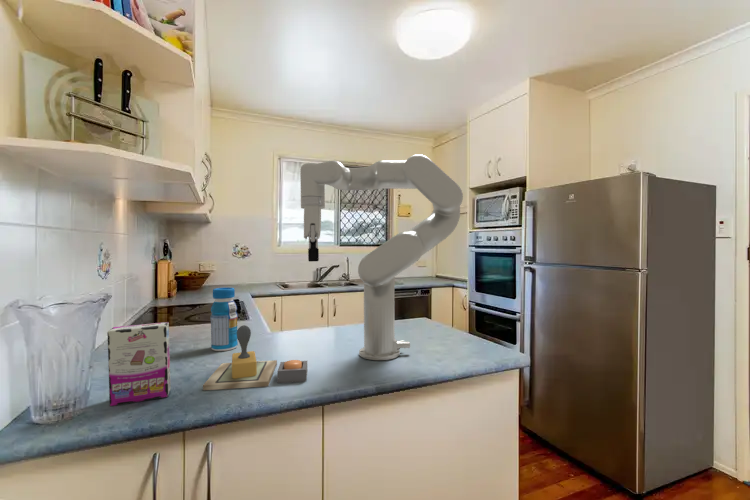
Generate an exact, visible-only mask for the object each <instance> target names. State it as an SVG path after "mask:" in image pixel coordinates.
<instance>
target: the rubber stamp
mask: <svg viewBox="0 0 750 500" xmlns="http://www.w3.org/2000/svg"><path fill="white" fill-rule="evenodd" d="M251 334H252V331H251V328H250V327H249V326H247V325H245V324H244V325H240V326H239V327H237V341H238V344H239V346H240V348H241V349H240V350H241V351H240V352H234V353H232V356H231V363H232V378H233V379H235V378H242V377H250V376H256V374H257V362H256V361H257V359H256V358H257V357H256V352H255V351H254V350H251V351H247V349H248V345H249V342H250V338H251Z"/></svg>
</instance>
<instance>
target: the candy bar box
mask: <svg viewBox="0 0 750 500" xmlns="http://www.w3.org/2000/svg"><path fill="white" fill-rule="evenodd" d="M169 324H170V323H169V321H167V322H155V323H154V322H153V323H146V324H133V325H132V324H131V325H122V326H121V325H120V326H113V327H112V328H110V329H109V330H108V331H107V332H106V333H107V354H108V356H107V357H108V358H107V361H108V362H107V363H108V366H107V367H108V389H109V390H108V391H109V395H108V396H109V397H108V398H109V402H108V403H109V406H110V407H114V406H121V405H127V404H133V403H140V402H145V401H152V400H157V399H164V398H168V397H169V394H170V392H171V389H172V388H171V387H172V384H171V383H172V382H171V381H172V380H171V357H170V355H171V354H170V325H169Z"/></svg>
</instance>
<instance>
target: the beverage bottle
mask: <svg viewBox="0 0 750 500" xmlns="http://www.w3.org/2000/svg"><path fill="white" fill-rule="evenodd" d="M235 291H236V290H235V288H234V287H217V288H213V290H212V300H214V302H213V303H212V305H211V307H210V313H211V315H210V318H209V319H210V334H211V335H210V337H211V338H210V339H211V343H210V346H211V350H212V351H216V352H225V351H231V350H234V349H236V348H238V346H239V345H238V344H239V341H238V339H237V330H238V315H239V314H238V312H237V310H238V306H237V304H236V302H235V300H234V298H235V295H236V294H235Z"/></svg>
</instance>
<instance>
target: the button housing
mask: <svg viewBox="0 0 750 500" xmlns="http://www.w3.org/2000/svg"><path fill="white" fill-rule="evenodd" d="M300 361H301V362H302V368H301V369H284V363H285V362H286V361H281V362H280V363H279V366H278V369H277V372H276V373H277V374H276V375H277V378H276V379H277V384H286V383H287V384H289V383H302V382H303V383H304V382H307V380H308V360H300Z"/></svg>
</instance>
